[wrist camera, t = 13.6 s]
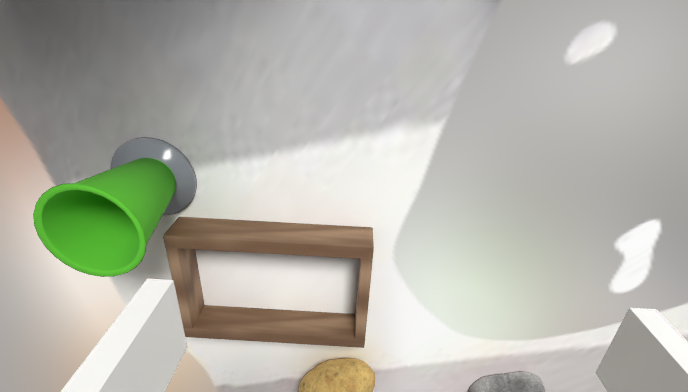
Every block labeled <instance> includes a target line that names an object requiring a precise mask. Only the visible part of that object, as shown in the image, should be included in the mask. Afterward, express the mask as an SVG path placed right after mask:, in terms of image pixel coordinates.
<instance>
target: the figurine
mask: <svg viewBox="0 0 688 392" xmlns="http://www.w3.org/2000/svg"><path fill="white" fill-rule="evenodd" d="M470 392H545V389H544V386H543V384H542V382H541V379H540V378H539V377H537V376H535V375H533V374H531V373H528V372H522V371H521V372H513V373H507V374H497V375H490V376H485V377H482V378H480V379H478V380H477V381H476V382H474V383H473V384H472V386H471V387H470Z"/></svg>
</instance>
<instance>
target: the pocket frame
mask: <svg viewBox="0 0 688 392" xmlns="http://www.w3.org/2000/svg"><path fill="white" fill-rule="evenodd" d="M163 238H164V242H165V247H166V252H167V256H168V261H169V266H170V271H171V275H172V280H174V285H175V290H176V295H177V300H178V304H179V309H180V314H181V319H182V324H183V329H184V333H185V337H196V338H213V339H229V340H246V341H262V342H279V343H296V344H312V345H329V346H345V347H362V348H364V344H365V333H366V322H367V312H368V301H369V291H370V280H371V270H372V259H373V248H374V247H373V229H372V228H370V227H352V226H334V225H316V224H298V223H280V222H262V221H244V220H226V219H208V218H190V217H179V218H178V219H177V220H176V221H175V222H174V224H173V225H172V226H171V227H170V228H169V230H168V231H167V232H166V233H165V234H164V236H163ZM195 249H199V250H217V251H235V252H252V253H270V254H287V255H305V256H322V257H340V258H358V259H360V260H359V274H358V287H357V300H356V314H342V313H326V312H309V311H292V310H275V309H258V308H241V307H224V306H207V305H204V300H203V295H202V289H201V283H200V277H199V271H198V265H197V259H196V253H195Z"/></svg>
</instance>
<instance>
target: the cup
mask: <svg viewBox="0 0 688 392" xmlns="http://www.w3.org/2000/svg"><path fill="white" fill-rule="evenodd" d="M175 191H176V179H175V176H174V173H173V172H172V170H171V169H170V168H169V167H168V166H167V165H166V164H164V163H163V162H161V161H159V160H157V159H152V158H140V159H136V160H134V161H131V162H129V163H126V164H123V165H121V166H118V167H116V168H113V169H110V170H108V171H105V172H103V173H100V174H97V175H95V176H92V177H90V178H87V179H84V180H82V181H79V182H77V183H72V184H61V185H58V186H55V187H52V188H50V189H49V190H48V191H46V192H45V193H43V194H42V195H41V197H40V198H39V200H38V201H37V203H36V206H35V210H34V214H33V215H34V226H35V228H36V231H37V234H38V236H39V238H40V239H41V241H42V242H43V244H44V245H45V247H46V248H47V249H48V250H49V251H50V252H51V253H52V254H53V255H54V256H55V257H56V258H58V259H59V260H60V261H62V262H63V263H64V264H66V265H68V266H70V267H71V268H73V269H75V270H77V271H80V272H83V273H86V274H89V275H95V276H101V277H107V276H117V275H121V274H124V273H127V272H129V271H131V270H132V269H134V268H136V267H137V265H138V264H139V263H140V262H141V261H142V259H143V257H144V255H145V252H146V244H147V242H148V240H149V239H150V237H151V235H152V233H153V231H154V229H155V228H156V226H157V224H158V222H159V220H160V219H161V217H162V215H163V213H164V211H165V210H166V208H167V206H168V204H169V202H170V200H171V199H172V197H173V195H174V193H175Z"/></svg>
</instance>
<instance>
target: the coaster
mask: <svg viewBox="0 0 688 392" xmlns="http://www.w3.org/2000/svg"><path fill="white" fill-rule="evenodd" d="M140 158H152V159H157V160H159V161H161V162H163V163H164V164H166V165H167V166H168V167H169V168H170V169H171V170H172V172H173V173H174V176H175V179H176V191H175V193H174V195H173V197H172V199H171V200H170V202H169V204H168V206H167V208H166V210H165V211H164V213H163V215H169V214H174V213H177V212H179V211H181V210H182V209H184V208H185V207H186V206H187V205H188V204H189V203H190V202H191V200H192V199H193V197H194V195H195V192H196V187H197V181H196V175H195V172H194V169H193V167H192V165H191V164H190V162H189V161H188V159H187V158H186V157H185V156H184V155H183V154H182V153H181V152H180V151H179V150H178V149H177V148H175V147H174V146H172V145H171V144H169V143H167V142H165V141H162V140H159V139H155V138H148V137H143V138H136V139H133V140H130V141H128V142H126V143H125V144H123V145H122V146H120V147H119V148H118V149H117V150H116V152H115V153H114V155H113V157H112V161H111V169H113V168H116V167H118V166H121V165H123V164H126V163H129V162H131V161H134V160H136V159H140Z"/></svg>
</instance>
